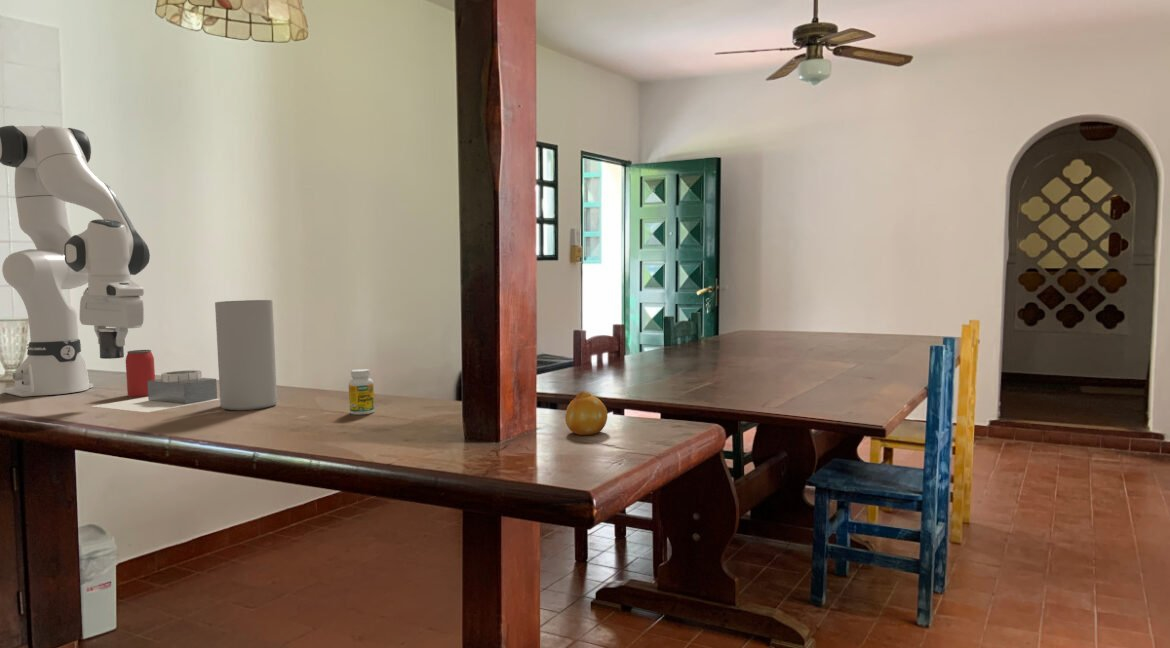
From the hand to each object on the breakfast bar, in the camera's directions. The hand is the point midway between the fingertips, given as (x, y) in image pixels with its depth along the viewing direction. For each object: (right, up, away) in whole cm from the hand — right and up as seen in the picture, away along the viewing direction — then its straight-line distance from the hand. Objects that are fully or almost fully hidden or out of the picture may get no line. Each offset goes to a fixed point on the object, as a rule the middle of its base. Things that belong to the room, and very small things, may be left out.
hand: (111, 345), depth 200 cm
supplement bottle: (+64, -15, -15) cm, 67 cm away
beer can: (-2, -14, +17) cm, 22 cm away
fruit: (+114, -16, -42) cm, 123 cm away
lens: (0, -3, 0) cm, 3 cm away
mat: (+9, -15, +4) cm, 18 cm away
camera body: (+14, -14, +8) cm, 21 cm away
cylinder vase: (+34, -15, -3) cm, 37 cm away
